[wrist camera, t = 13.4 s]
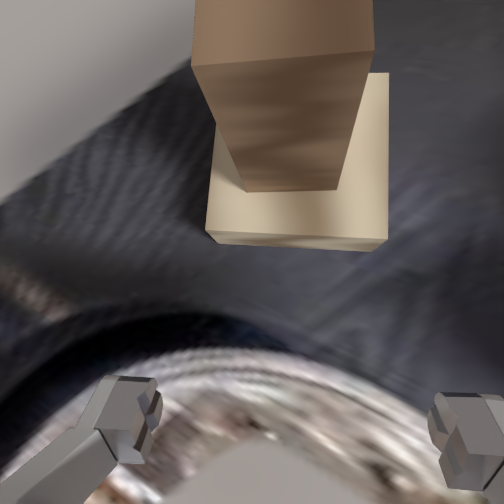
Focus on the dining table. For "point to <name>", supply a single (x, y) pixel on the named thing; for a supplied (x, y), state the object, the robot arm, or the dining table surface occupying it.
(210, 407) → the dining table surface
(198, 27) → the walnut block
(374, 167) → the beech block
